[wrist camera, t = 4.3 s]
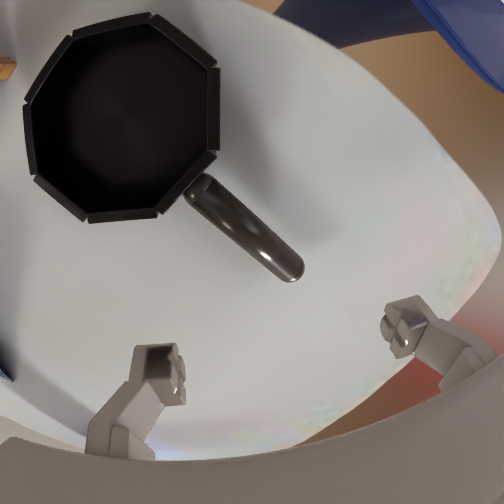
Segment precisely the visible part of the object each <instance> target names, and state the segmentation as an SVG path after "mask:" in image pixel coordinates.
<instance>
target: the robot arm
mask: <svg viewBox="0 0 504 504" xmlns="http://www.w3.org/2000/svg"><path fill="white" fill-rule="evenodd" d="M501 1H502V2H503V3H504V0H501ZM384 311H385V313H386V314H385V316H384V317H383V318H382V320H381V323H380V329H381V333H382V336H383V338H384V339H385V340H386V341H388V342H390V349H391V351H392V352H393V354H394V356H395V357H396V359H400V358H403V357H406V356H408V355H411V354H413V355H414V356H415V357H417V358H418V359H420V360H421V361H423V362H424V363H426V364H427V365H429V366H430V367H432V368H433V369H434V370H436V371H437V372H439V373H440V374H442V375H443V376H444V378H443V379H442V381H441V382H440V384H439V388H440V390H441V392H442V393H440V394H438V395H436V396H434V397H432V398H430V399H428V400H427V401H424V402H422V403H420V404H418V405H416V406H414V407H412V408H410V409H407V410H405V411H403V412H401V413H399V414H396V415H394V416H391V417H389V418H386V419H384V420H381V421H379V422H376V423H374V424H371V425H368V426H365V427H363V428H360V429H357V430H354V431H351V432H348V433H345V434H342V435H339V436H335V437H332V438H328V439H325V440H321V441H318V442H314V443H310V444H306V445H301V446H298V447H293V448H288V449H283V450H278V451H272V452H267V453H261V454H254V455H247V456H240V457H231V458H221V459H208V460H188V461H155V452H154V451H153V450H152V449H150V448H149V447H148V446H147V445H146V444H144V443H143V442H144V440H145V438H146V437H147V435H148V434H149V432H150V430H151V429H152V427H153V425H154V424H155V422H156V421H157V419H158V417H159V416H160V414H161V412H162V411H163V409H164V406H176V405H186V389H185V387H184V385H183V383H184V381H185V380H186V373H185V366H184V362H183V359H182V357H181V356H180V355H178V347H177V345H176V343H167V344H151V345H136V347H135V348H134V352H133V357H132V363H131V369H130V375H129V381H126V382H124V383H123V384H122V386H121V387H120V388H119V389H118V390H117V391H116V392H115V394H114V395H113V396H112V397H111V398H110V399H109V400H108V402H107V403H106V404H105V405H104V406H103V407H102V408H101V410H100V411H99V412H98V413H97V414H96V415H95V417H94V418H93V419H92V420H91V421H90V422H89V427H88V433H87V439H86V447H85V454H83V453H78V452H72V451H67V450H63V449H58V448H54V447H49V446H46V445H42V444H38V443H34V442H31V441H28V440H24V439H22V438H18V437H10V438H8V439H7V440H5V441H4V442H3V443H2V444H1V445H0V504H504V353H503V354H501V355H500V356H499V357H497V356H496V355H495V353H494V352H493V351H492V349H491V348H490V347H489V345H488V344H487V343H486V342H485V340H484V339H483V338H482V337H480V336H478V335H476V334H474V333H472V332H469V331H467V330H465V329H463V328H461V327H458V326H457V325H455V324H452V323H450V322H448V321H446V320H444V319H442V318H441V319H438V317H437V316H436V315H435V314H434V312H433V311H432V310H431V309H430V308H429V306H428V305H427V304H426V303H425V302H424V300H423V299H422V298H421V297H420V296H418V295H415V296H411V297H408V298H404V299H401V300H398V301H394V302H391V303H388V304H387V305H386V306H385V310H384Z"/></svg>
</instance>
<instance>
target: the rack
mask: <svg viewBox="0 0 504 504" xmlns="http://www.w3.org/2000/svg"><path fill="white" fill-rule="evenodd" d="M16 65H17V63H16V62H15V61H13V60H12V59H11V58H10V57H0V80H5V79H9V77H10V75H11V73H12V72H13V70H14V68H15V66H16Z"/></svg>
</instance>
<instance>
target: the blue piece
mask: <svg viewBox="0 0 504 504" xmlns="http://www.w3.org/2000/svg"><path fill="white" fill-rule="evenodd" d="M0 376H1V377H3V378H5V379H8V380H10V381H12V382H13V381H14V380H11V379H9V378H8V377H7V376H6V375H5V374H4V373H3V372H2V370H1V369H0Z"/></svg>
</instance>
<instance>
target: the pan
mask: <svg viewBox="0 0 504 504" xmlns="http://www.w3.org/2000/svg"><path fill="white" fill-rule="evenodd" d="M216 65H217V60H215V59H214V58H213V57H212V56H211V55H210V54H208V53H207V52H206V51H205V50H204V49H203V48H201V47H200V46H199V45H198V44H196V43H195V42H194V41H193V40H192V39H190V38H189V37H188V36H187V35H185V34H184V33H183V32H181V31H180V30H179V29H178V28H176V27H175V26H174V25H172V24H171V23H170V22H168V21H167V20H166V19H164V18H163V17H162V16H160V15H159V14H156V15H154V16H152V14H151V13H150V12H147V13H141V14H135V15H130V16H125V17H120V18H116V19H111V20H107V21H103V22H100V23H96V24H92V25H89V26H85V27H82V28H79V29H76V30H73V34H72V36H70V35H66V37H65V38H64V39H63V41H62V42H61V43H60V44H59V46H58V47H57V48H56V50H55V51H54V53H53V54H52V55H51V57H50V58H49V60H48V61H47V63H46V64H45V65H44V67H43V68H42V70H41V72H40V73H39V75H38V76H37V78H36V79H35V81H34V83H33V84H32V86H31V88H30V89H29V91H28V93H27V95H26V96H25V98H24V100H25V101H26V102H27V103H28V104H25V105H23V122H24V133H25V142H26V150H27V157H28V163H29V169H30V174H31V175H35V174H36V176H35V178H34V180H33V181H34V182H35V183H37V184H38V185H39V186H40V187H41V188H42V189H43V190H45V191H46V192H47V193H48V194H49V195H50V196H51V197H53V198H54V199H55V200H56V201H57V202H59V203H60V204H61V205H62V206H63V207H65V208H66V209H67V210H68V211H69V212H71V213H72V214H73V215H74V216H76V217H77V218H78V219H79V220H81V221H82V222H84V221H85V220H86V218H87V219H88V223H89V224H92V223H103V222H114V221H125V220H138V219H151V218H157V217H158V214H159V212H160V213H161V214H162V215H164V214H165V213H166V212H167V211H168V209H169V208H170V207H171V206H172V205H173V204H174V203H175V202H176V200H177V199H178V198H179V197H180V196H181V195H182V194H183V196H184V199H185V200H186V202H187V203H188V204H189V205H191V206H192V207H193V208H194V209H195V210H197V211H198V212H199V213H200V214H201V215H203V216H204V217H205V218H206V219H208V220H209V221H210V222H211V223H212V224H214V225H215V226H216V227H217V228H219V229H220V230H221V231H222V232H223V233H225V234H226V235H227V236H228V237H229V238H231V239H232V240H233V241H234V242H236V243H237V244H238V245H239V246H240V247H242V248H243V249H244V250H245V251H247V252H248V253H249V254H250V255H251V256H253V257H254V258H255V259H256V260H257V261H259V262H260V263H261V264H262V265H264V266H265V267H266V268H267V269H268V270H270V271H271V272H272V273H273V274H275V275H276V276H277V277H278V278H279V279H281V280H282V281H285V282H295V281H297V280H298V279H300V278H301V277H302V275H303V273H304V269H305V265H304V262H303V260H302V258H301V257H300V256H299V255H298V254H297V253H296V252H295V251H294V250H293V249H292V248H291V247H289V246H288V245H287V244H286V243H285V242H284V241H283V240H282V239H281V238H280V237H279V236H278V235H277V234H276V233H274V232H273V231H272V230H271V229H270V228H269V227H268V226H267V225H266V224H265V223H264V222H263V221H261V220H260V219H259V218H258V217H257V216H256V215H255V214H254V213H253V212H252V211H251V210H249V209H248V208H247V207H246V206H245V205H244V204H243V203H242V202H241V201H239V200H238V199H237V198H236V197H235V196H234V195H233V194H232V193H231V192H229V191H228V190H227V189H226V188H225V187H224V186H223V185H222V184H221V183H219V182H218V181H217V180H216V179H215V178H214V177H213V176H211V175H210V174H208V173H204V172H203V171H204V170H205V169H206V168H207V167H208V166H209V165H210V164H211V163H212V162H213V161H214V160H215V159H216V158H217V154H216V151H219V150H220V72H221V69H220V68H216Z"/></svg>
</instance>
